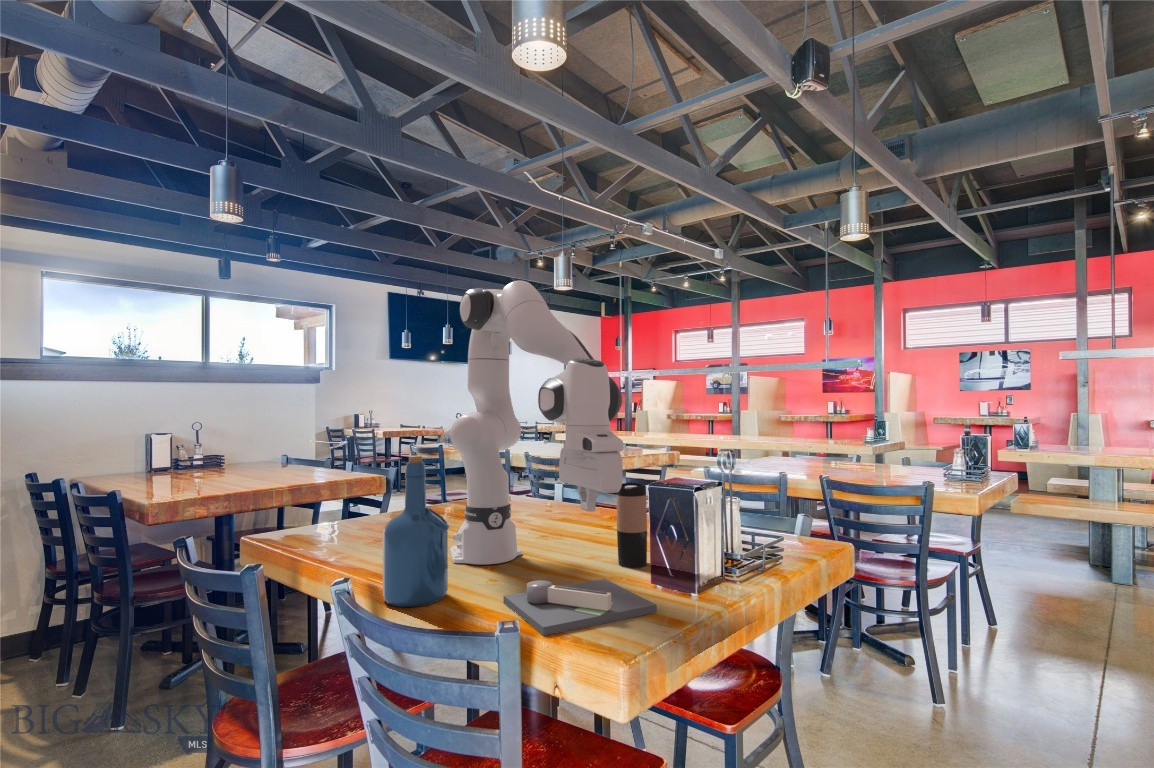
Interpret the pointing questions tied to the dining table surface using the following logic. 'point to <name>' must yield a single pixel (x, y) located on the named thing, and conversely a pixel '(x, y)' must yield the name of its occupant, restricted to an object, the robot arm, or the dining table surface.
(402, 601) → the wine bottle
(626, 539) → the travel mug
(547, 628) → the dial plate
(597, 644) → the dining table surface
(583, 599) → the dial lever
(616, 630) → the dining table surface
